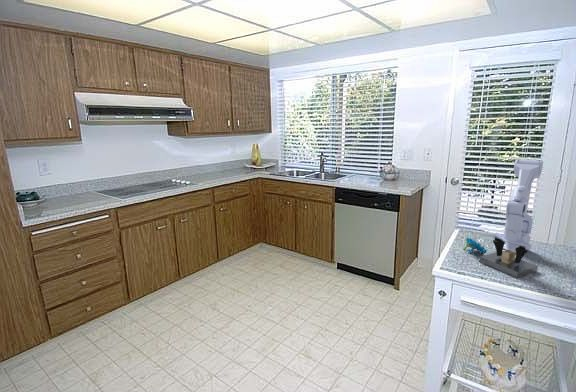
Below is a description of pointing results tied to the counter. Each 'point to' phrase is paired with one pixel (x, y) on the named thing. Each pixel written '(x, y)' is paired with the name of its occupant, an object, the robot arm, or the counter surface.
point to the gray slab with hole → (508, 265)
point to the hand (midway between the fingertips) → (508, 259)
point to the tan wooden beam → (508, 256)
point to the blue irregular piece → (474, 246)
